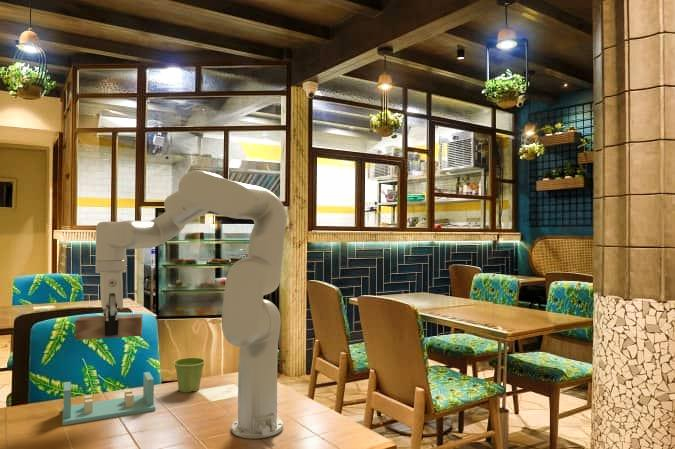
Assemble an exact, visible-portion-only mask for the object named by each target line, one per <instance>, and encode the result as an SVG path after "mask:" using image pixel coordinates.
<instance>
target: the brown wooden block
mask: <svg viewBox="0 0 675 449" xmlns="http://www.w3.org/2000/svg"><path fill="white" fill-rule="evenodd" d="M117 315H118V335H114V336H105V321H106V316H104V315H95V316H94V315H93V316H92V315H91V316H79V317H78V318H76V319H75V320H74V341H79V340H81V341H82V340H95V339H111V338H112V339H114V338H128V337H129V338H130V337H131V338H132V337H141V336H142V334H143V313H138V314H137V313H135V314H133V313H132V314H117Z"/></svg>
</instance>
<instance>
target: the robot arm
mask: <svg viewBox="0 0 675 449" xmlns="http://www.w3.org/2000/svg"><path fill="white" fill-rule="evenodd" d="M177 189H178V190H177V191H175V192H173V193H172V194H170V195H168V196H167V197H166V198H165V199H164V204H163V206H164V210H165V212H163V213H161V214H160V215H159V216H157V217H155V218H153V219H151V220H123V221H122V220H121V221H100V222H98V223H97V224H96V227H95V229H96V230H95V274H100V278H99V279H100V281H99V284H100V286H99V287H100V303H101V308H102V310H103V316H106V321H105V336H114V335H118V315H119V314H118V309H119V310H123V308H124V298H123V297H124V292H123V291H124V288H123V285H124V284H123V273H126V272H127V250H136V249H151V248H152V249H153V248H156V247H158V246H160V245H162V244H164V243H166V242H168V241H170V240H172V239H173V238H175V237H176V236H178V235H179V234H180V233H181V232H182V231H183V229H184V228H185V226H186V225H188V224H189V223H191V222H193V221H195V220H196V219H198V218H199V217H201V216H203V215H206V214H207V213H209V212H212V213H214V214H216V215H217V214H218V215H220V216H223V217H228V218H231V219H236V220H237V219H240V220H241V219H242V220H252V221H253V223H254V224H253V227H252V229H251V232H250V235H249V240H248V251H247V255H246V256H247V257H245V258H244V257H243V258H242V259H238V260H237V261H236V262H234V264H232V266H231V267H230V269H229V270H228V272H227V275H226V279H225V284H224V294H223V302H222V310H221V311H222V312H221V331H222V335H223V336H224V338H225V340H226V341H227V342H228V343H229V344H231V345H232V346H234V347H239V349H238V364H237V365H238V366H237V367H238V368H237V369H238V371H237V373H238V375H237V376H238V377H237V382H238V383H237V386H238V387H237V388H238V389H237V419H236V420H235V421H233V423H231V426H230V427H231V430H230V431H231V432H232V434H233V435H235V436H237V437H239V438H243V439H253V440H254V439H255V440H257V439H265V438H270V437H273V436H275V435H277V434H279V433H281V431H283V429H284V422H283V420H282V419H281V418H279V417H278V364H279V362H278V354H279V353H278V352H279V349H278V348H279V338H280V332H281V327H282V326H281V324H282V322H281V314H280V310H279V309H278V307H277V306H276V305H275V304H274V303H273V302H272V301H270V300H268V299H264V296H266V295H269V294H271V293H273V292H275V291H276V290H277V289H278V287H279V285H280V283H281V278H282V267H283V259H284V257H283V256H284V249H285V248H284V244H285V236H286V230H287V229H286V228H287V211H286V208H285V206H284V204H283V202H282V200H281V199H280V198H279V197H278V196H277V195H276V194H275V193H274V192H272V191H270V190H269V189H267V188H264V187H262V186H259V185H254V184H248V183H243V182H238V181H234V180H230V179H227V178H224V177H223V176H221V175H220V174H217V173H214V172H209V171H204V170H201V169H200V170H198V169H197V170H196V169H195V170H192V171H191V170H190V171H188V172H186V174H184V175H183V176H182V178H181V179H180V181H179V183H178V188H177Z"/></svg>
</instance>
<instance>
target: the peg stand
mask: <svg viewBox="0 0 675 449" xmlns="http://www.w3.org/2000/svg"><path fill="white" fill-rule="evenodd" d="M142 375H143V384H142V385H143V389H142V390H143V393H142V394H139V395H135V394H134V393H133V390H132V389H127V390H124V397H121V398H120V397H119V398H114V399H105V400H98V401H93V394H91V395H84V397H83V398H84V403H79V404H72V382H71V381H65V382H64V381H63V406H62V421H61V422H62V426H68V425H69V426H70V425H75V424H80V423H87V422H93V421H99V420H104V419H105V420H106V419H114V418H118V417H125V416H130V415H136V414H143V413H149V412H155V411H156V405H155V403H154V402H155V399H154V397H155V394H154V389H155V384H154V383H155V379H154V376H153V375H152V374H151V372H150V371H146V372H143V374H142Z"/></svg>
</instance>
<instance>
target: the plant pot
mask: <svg viewBox="0 0 675 449" xmlns="http://www.w3.org/2000/svg"><path fill="white" fill-rule="evenodd" d="M205 363H206V360H205V359H204V358H202V357H183V358H179V359H175V360H174V361H173V365H174V368H175V371H176V379H177V385H178V386H177V389H178V391H180V392H181V393H191V392H197V391H199V389H200V387H201V385H200V384H201V379H202V373H203V372H202V371H203V367H204V366H205V365H204V364H205Z"/></svg>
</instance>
